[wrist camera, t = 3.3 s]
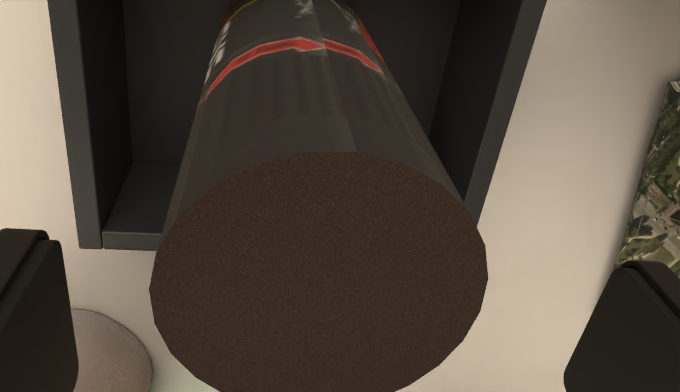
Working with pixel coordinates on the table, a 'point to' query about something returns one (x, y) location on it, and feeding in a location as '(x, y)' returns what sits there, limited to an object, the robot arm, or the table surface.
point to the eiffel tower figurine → (658, 194)
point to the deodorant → (311, 217)
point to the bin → (189, 76)
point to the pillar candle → (108, 356)
